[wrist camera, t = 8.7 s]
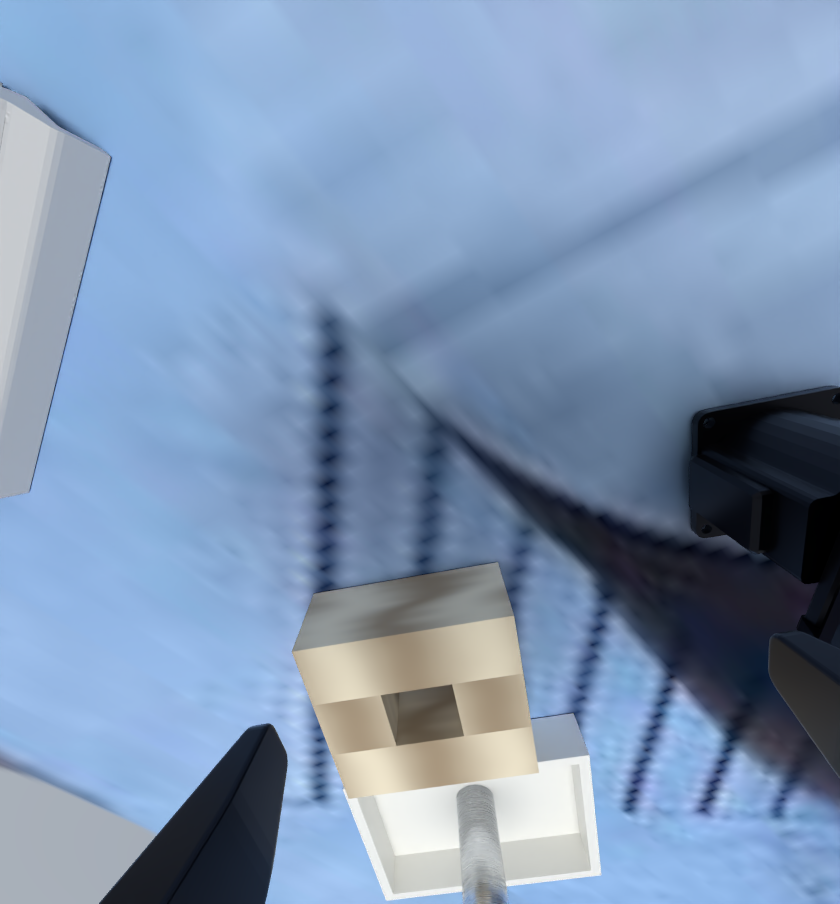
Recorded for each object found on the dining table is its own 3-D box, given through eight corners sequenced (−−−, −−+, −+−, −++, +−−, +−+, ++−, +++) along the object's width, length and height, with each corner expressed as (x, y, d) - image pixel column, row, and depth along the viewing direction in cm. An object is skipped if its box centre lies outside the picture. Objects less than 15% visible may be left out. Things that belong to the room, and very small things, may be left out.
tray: (573, 713, 25) (589, 755, 23) (586, 828, 29) (601, 875, 26) (349, 745, 26) (342, 789, 24) (389, 853, 30) (386, 900, 27)
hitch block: (497, 561, 22) (514, 615, 18) (521, 702, 25) (539, 772, 21) (313, 593, 22) (291, 651, 19) (359, 726, 26) (348, 799, 22)
